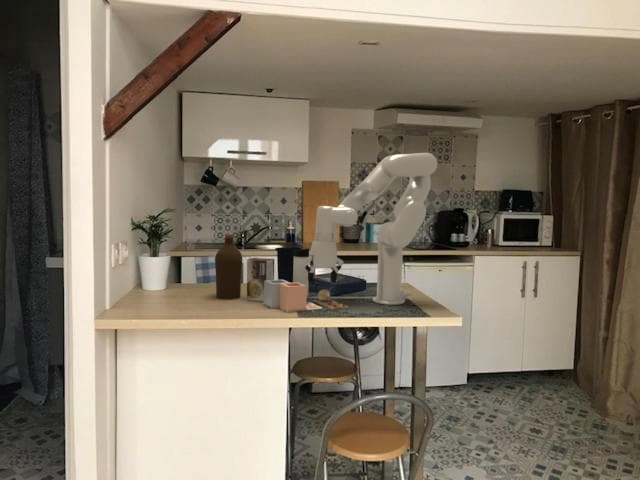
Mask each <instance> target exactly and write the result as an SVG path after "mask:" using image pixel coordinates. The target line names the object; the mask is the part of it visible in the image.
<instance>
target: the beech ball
mask: <svg viewBox="0 0 640 480" xmlns="http://www.w3.org/2000/svg"><path fill="white" fill-rule="evenodd" d="M330 293H331V292H330V291H329V290H328V289H326V288H325V289H324V288H323V289H321V290H319V291H318V297H317V298H319V299H320V300H323V301H327V300H328V299H331V294H330Z"/></svg>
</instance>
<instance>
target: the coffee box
mask: <svg viewBox="0 0 640 480" xmlns="http://www.w3.org/2000/svg"><path fill="white" fill-rule="evenodd" d="M266 280H275V258H265V257H252V258H249V259H246V301H253V302H263V303H264V281H266Z"/></svg>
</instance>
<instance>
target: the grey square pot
mask: <svg viewBox="0 0 640 480" xmlns="http://www.w3.org/2000/svg"><path fill="white" fill-rule="evenodd" d="M280 283H291V282H289V281H288V280H285V279H274V280H266V281H264V302H263V305H265V306H266V307H268V308H269V309H280V308H279V290H280Z"/></svg>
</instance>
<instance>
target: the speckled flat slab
mask: <svg viewBox="0 0 640 480" xmlns="http://www.w3.org/2000/svg"><path fill="white" fill-rule="evenodd" d="M313 302H314V304H318V305H320V306H321V307H324V308H327V309H330V310H331V311H333V310H345V309H349V308H350V307H349V306H348V305H346V303H341V301H335V300H333V299H331V298H329V299H328V300H327V301H323V300H320V299H319V297H317V298H315V299H313V300H312V303H313Z"/></svg>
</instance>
